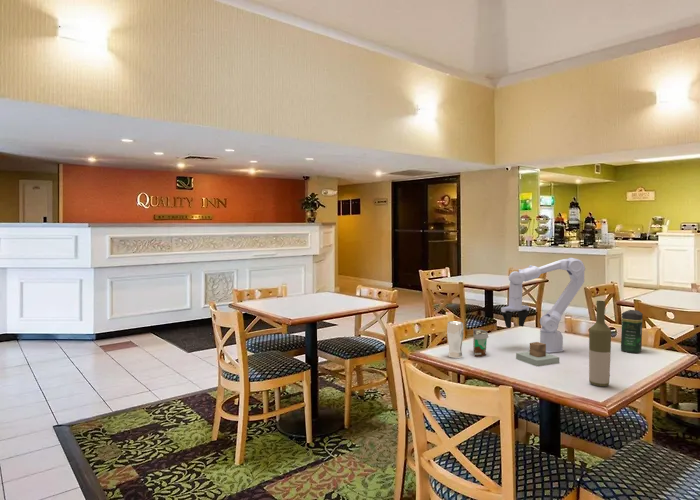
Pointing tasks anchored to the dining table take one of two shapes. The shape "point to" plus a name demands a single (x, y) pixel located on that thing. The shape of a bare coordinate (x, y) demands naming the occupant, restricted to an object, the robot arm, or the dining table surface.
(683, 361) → the dining table surface
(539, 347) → the walnut block
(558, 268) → the robot arm
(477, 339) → the food container
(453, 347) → the beer glass
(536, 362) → the grey platform
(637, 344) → the coffee jar
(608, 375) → the bottle
